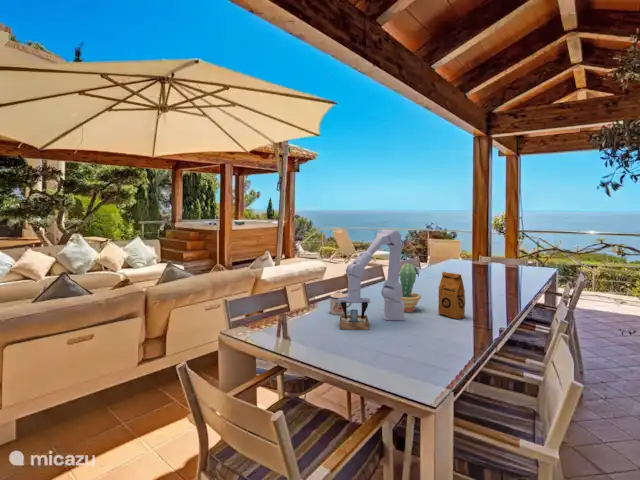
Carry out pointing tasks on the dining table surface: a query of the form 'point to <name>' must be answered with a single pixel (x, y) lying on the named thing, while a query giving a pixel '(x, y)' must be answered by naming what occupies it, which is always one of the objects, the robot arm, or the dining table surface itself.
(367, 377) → the dining table surface
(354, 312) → the peg
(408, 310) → the potted cactus
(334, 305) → the beige mug
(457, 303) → the coffee package
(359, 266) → the robot arm
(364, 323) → the tray box
